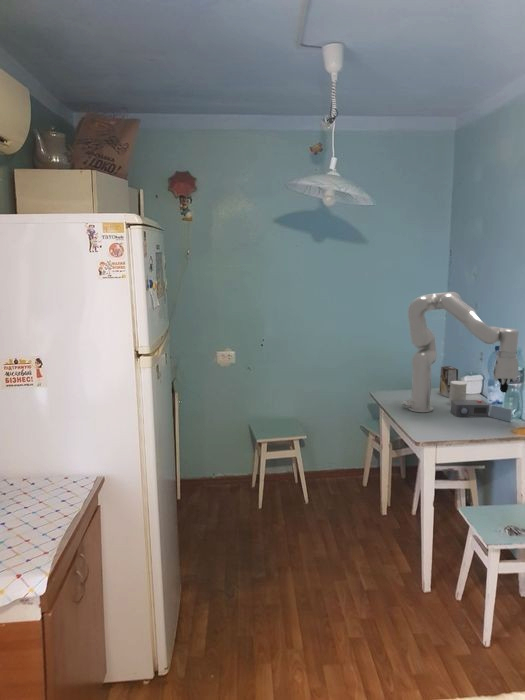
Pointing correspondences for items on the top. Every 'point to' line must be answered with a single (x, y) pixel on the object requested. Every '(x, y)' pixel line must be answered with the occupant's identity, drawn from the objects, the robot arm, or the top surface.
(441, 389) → the coffee box
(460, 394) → the cup
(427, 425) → the top surface
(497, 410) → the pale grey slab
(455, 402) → the camera body
